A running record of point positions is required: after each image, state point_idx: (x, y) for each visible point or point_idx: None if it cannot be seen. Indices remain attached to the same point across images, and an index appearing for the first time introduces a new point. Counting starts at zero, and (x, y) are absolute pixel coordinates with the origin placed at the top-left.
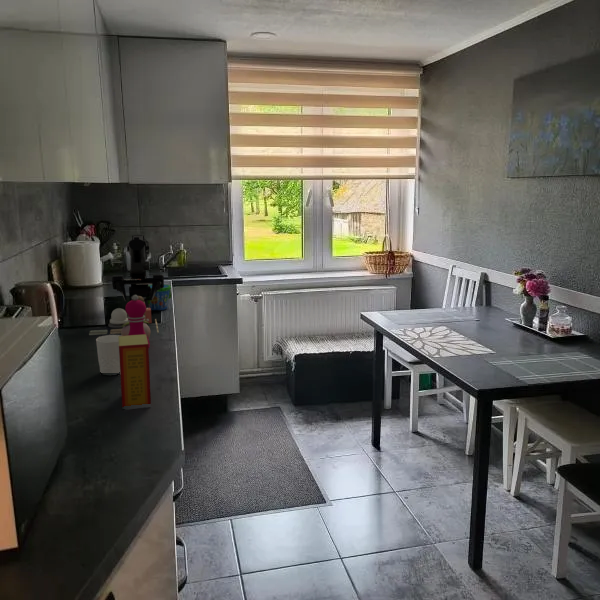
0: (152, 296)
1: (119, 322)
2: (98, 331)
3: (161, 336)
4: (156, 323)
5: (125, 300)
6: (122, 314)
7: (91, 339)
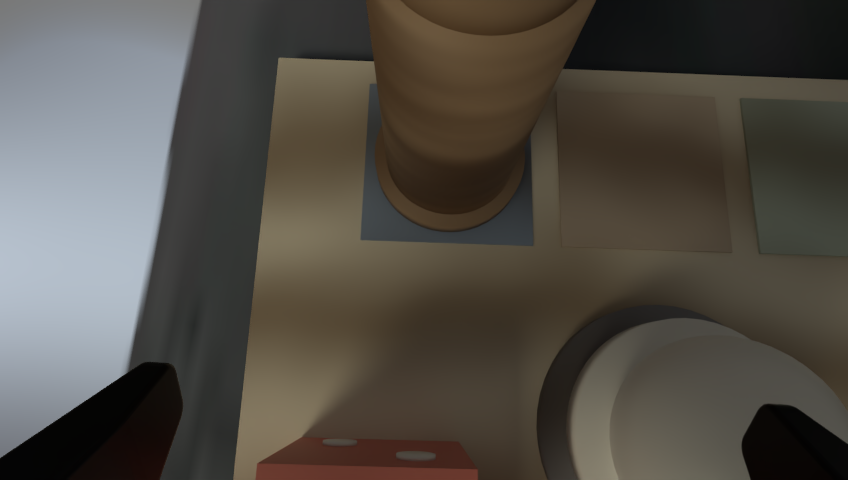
0: (93, 399)
1: (677, 320)
2: (838, 206)
3: (273, 8)
4: (247, 409)
5: (776, 408)
6: (687, 351)
7: (841, 72)
